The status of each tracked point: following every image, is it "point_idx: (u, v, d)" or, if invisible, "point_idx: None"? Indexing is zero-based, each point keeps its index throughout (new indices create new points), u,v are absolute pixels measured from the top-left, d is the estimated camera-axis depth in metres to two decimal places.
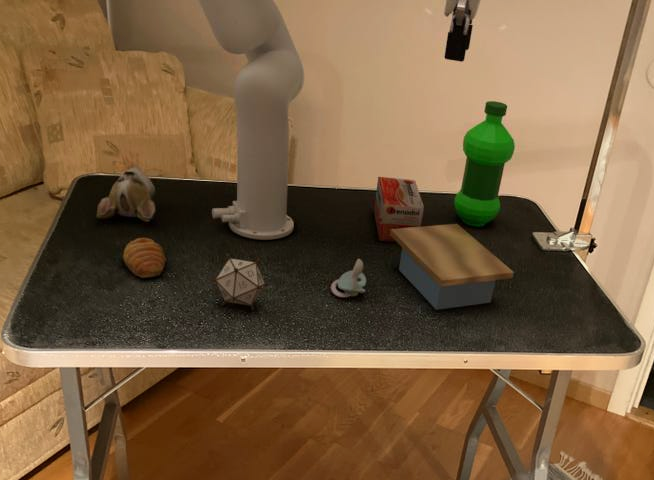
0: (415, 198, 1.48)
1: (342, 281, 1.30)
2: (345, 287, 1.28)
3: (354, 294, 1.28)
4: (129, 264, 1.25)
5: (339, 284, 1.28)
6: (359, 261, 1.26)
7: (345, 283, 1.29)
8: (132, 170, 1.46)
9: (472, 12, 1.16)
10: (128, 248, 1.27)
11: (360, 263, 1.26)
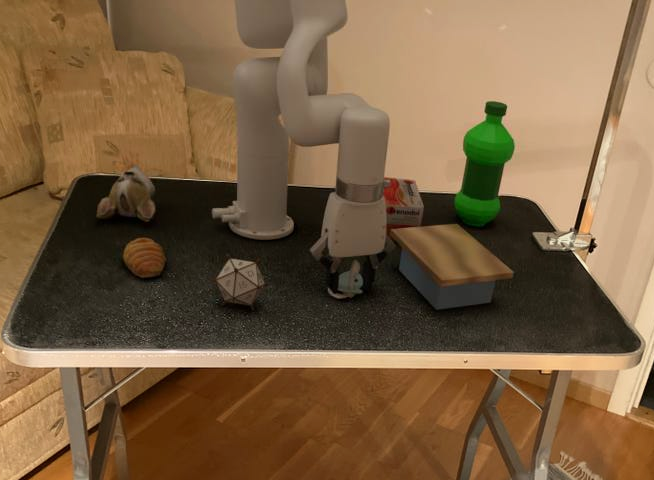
0: (415, 198, 1.48)
1: (339, 282, 1.29)
2: (342, 288, 1.28)
3: (351, 295, 1.28)
4: (129, 264, 1.25)
5: None
6: (356, 262, 1.26)
7: (342, 284, 1.29)
8: (132, 170, 1.46)
9: (330, 251, 1.21)
10: (128, 248, 1.27)
11: (357, 264, 1.25)
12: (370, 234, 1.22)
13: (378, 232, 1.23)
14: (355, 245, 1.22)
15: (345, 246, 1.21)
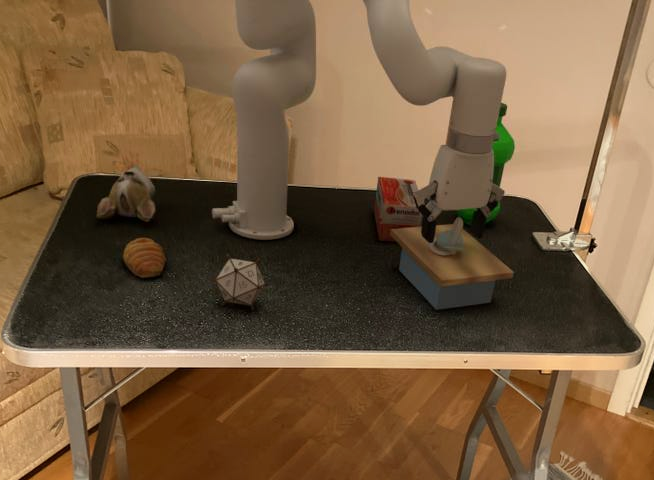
0: None
1: (440, 240, 1.31)
2: (444, 245, 1.30)
3: (453, 252, 1.30)
4: (129, 264, 1.25)
5: (438, 243, 1.30)
6: (460, 219, 1.27)
7: (443, 242, 1.31)
8: (132, 170, 1.46)
9: (438, 203, 1.23)
10: (128, 248, 1.27)
11: (461, 221, 1.27)
12: (477, 186, 1.23)
13: (485, 185, 1.24)
14: (463, 198, 1.24)
15: (453, 198, 1.23)
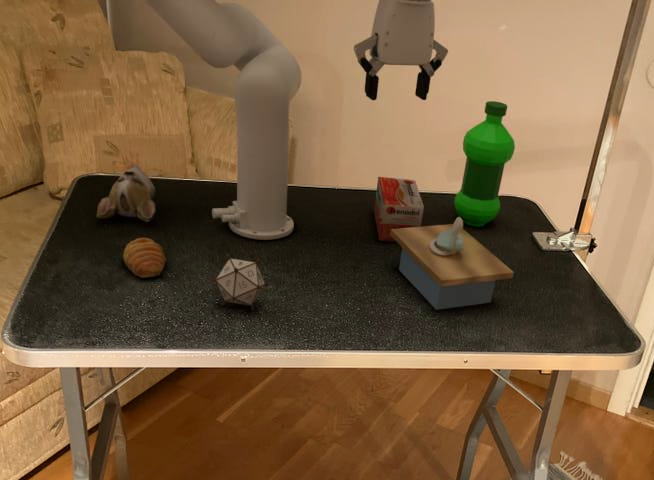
0: (415, 198, 1.48)
1: (440, 240, 1.31)
2: (444, 245, 1.30)
3: (453, 252, 1.30)
4: (129, 264, 1.25)
5: (438, 243, 1.30)
6: (460, 219, 1.27)
7: (443, 242, 1.31)
8: (132, 170, 1.46)
9: (379, 56, 1.24)
10: (128, 248, 1.27)
11: (461, 221, 1.27)
12: (418, 40, 1.24)
13: (426, 39, 1.25)
14: (404, 51, 1.24)
15: (394, 51, 1.24)
